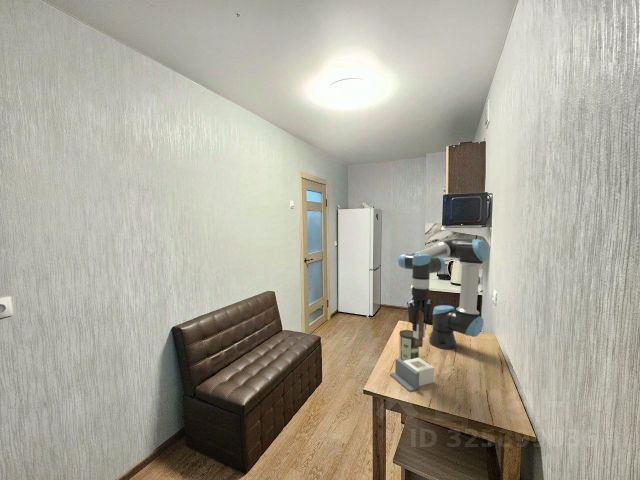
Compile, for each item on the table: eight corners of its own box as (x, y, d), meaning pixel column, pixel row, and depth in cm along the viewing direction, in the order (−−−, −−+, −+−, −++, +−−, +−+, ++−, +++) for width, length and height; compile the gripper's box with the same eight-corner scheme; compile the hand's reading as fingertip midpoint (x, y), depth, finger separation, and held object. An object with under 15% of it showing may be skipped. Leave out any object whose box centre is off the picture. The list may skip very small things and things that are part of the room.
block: (418, 371, 133) (418, 357, 133) (433, 382, 124) (434, 367, 124) (401, 375, 130) (402, 361, 129) (416, 386, 120) (416, 371, 120)
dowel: (419, 343, 128) (420, 310, 127) (423, 346, 125) (425, 312, 124) (413, 344, 127) (415, 311, 126) (418, 347, 124) (419, 313, 123)
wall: (398, 373, 132) (399, 358, 131) (418, 389, 119) (419, 372, 118) (390, 375, 130) (390, 360, 129) (409, 392, 117) (410, 375, 116)
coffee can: (417, 355, 150) (417, 330, 149) (420, 364, 140) (421, 338, 139) (398, 353, 152) (398, 329, 151) (399, 362, 142) (400, 336, 141)
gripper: (428, 284, 131) (426, 331, 132) (400, 286, 125) (399, 336, 127) (440, 287, 124) (438, 337, 125) (411, 290, 118) (410, 342, 120)
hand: (419, 336), depth 126 cm, fingers closed on dowel, 3 cm apart
